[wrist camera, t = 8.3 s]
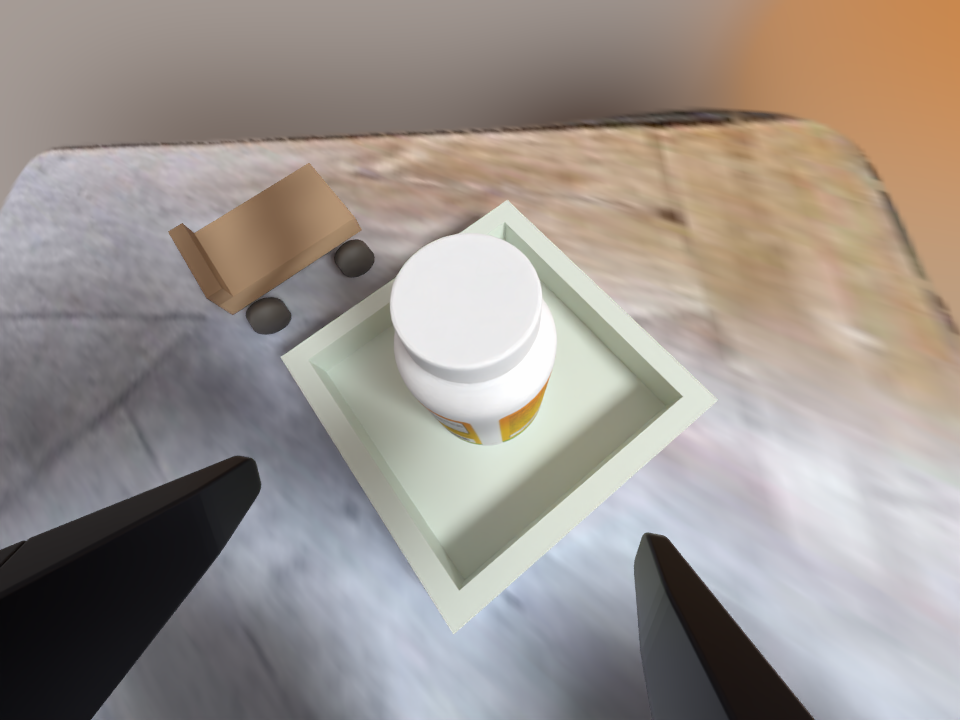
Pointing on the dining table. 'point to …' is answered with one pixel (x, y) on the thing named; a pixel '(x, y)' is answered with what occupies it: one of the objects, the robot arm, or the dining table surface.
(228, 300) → the cart
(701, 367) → the dining table surface
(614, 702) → the dining table surface
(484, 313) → the supplement bottle
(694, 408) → the tray
